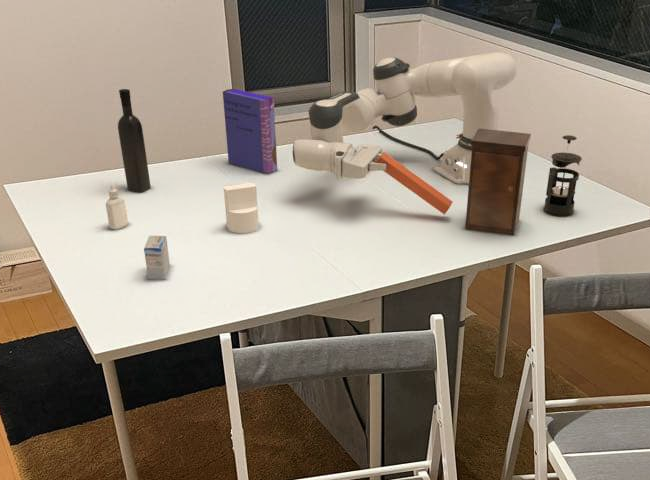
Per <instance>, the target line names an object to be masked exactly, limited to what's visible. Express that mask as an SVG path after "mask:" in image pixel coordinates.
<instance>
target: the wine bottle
mask: <svg viewBox="0 0 650 480" xmlns="http://www.w3.org/2000/svg"><path fill="white" fill-rule="evenodd" d="M118 94H119V98H120V103H121V109H122V116H121V117H120V118H119V119H118V122H117V132H118V137H119V144H120V151H121V156H122V163H123V169H124V175H125V181H126V187H127V190H128V191H131V192H136V193H144V192H145V191H146V190H149V189H150V188H151V187H152V186H151V178H150V172H149V164H148V158H147V152H146V144H145V137H144V130H143V125H142V122H141V121H140V119H139V118H138V117H137V116H136V115H134V113H133V108H132V100H131V97H132V96H131V90H130V89H129V88H128V89H127V88H122V89H119V90H118Z"/></svg>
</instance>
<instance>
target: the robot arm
mask: <svg viewBox="0 0 650 480" xmlns="http://www.w3.org/2000/svg"><path fill="white" fill-rule="evenodd" d="M409 68H411V65H410V64H409V63H408V62H405V61H403V60H402V59H401V58H397V57H386V58H383V59H381V60H379V62H377V63H376V64H374V67H373V68H372V74H373V75H372V76H373V80H374V81H375V85H376V90H375V89H373V88H371V87H367V88H362V89H360V90H358V91H356V92H354V91H342V92H339V93H337V94H335V95H332V96H330V97H328V98H325V99H321V100H317V101H315V102H313V104H312V105H311V106H310V108H309V109H308V118H309V124H310V135H311V137H310V139H295V140H294V142H293V144H292V160H293V163H294V165H295V166H297V167H299V168H302V169H305V170H311V171H317V172H323V171H327V172H330V173H333V174H334V178H335V179H343V178H347V179H364V178H366V177H367V176H368V175H369V173H370V172H377V171H383V170H384V171H385V170H386V169H387V163H377V161H378V159H379V158H380V156H381V155H382V154H383V147H382V146H380V145H372V144H359V145H358V146H356V147H355V148H354V146H353V144H352V143H350V142H349V143H348V142H344V132H343V131H344V130H343V129H344V128H345V129H346V130H347V131H350V132H353V133H362V132H364V131H366V130H367V129H369V128H370V127H371V126H372V125H373V123H374V122H376V120H377V119H378V118H379V117H381V120H382V122H383V123H384V122H386V123H388V124H389V125H391V126H393V127H404V126H407V125H409V124H411V123H413V122H415V120H416V118H417V117H418V108H417V105H416V102H415V96H417V97H421V98H422V97H423V98H444V97H452V96H453V97H454V96H460V98H461V102H462V108H463V119H462V120H463V121H462V122H463V123H462V132H461V133H459V134H455V136H456V137H455V139H458V141H457V143H456V144H454V146H452V147H451V148H449V149H447V150H445V151H444V152H441V153H440V154H439V156H437V155H436V154H435V153H434V152H433V151H431V150H430V149H427V148H425V147H422V146H419V145H416V144H413V143H410V142H408V141H405V140H402V139H398V138H397V137H395V136H392V135H390V134H388V133H387V132H385V130H383V129H382V128H380V127H379V126H378V125H374V126H373V127H372V128H371V129H372V130H376V129H377V131H379V132H380V133H382V135H384V136H386V137H387V138H389V139H391V140H392V141H395V142H398V143H400V144H402V145H405V146H407V147H411V148H414V149H417V150H420V151H422V152H426V153H428V154H430V155H431V156H432V157H433V158H434V159H435V160H441V162H440V163H439V164H436V165H435V166H434V167H433V171H434V172H436V173H437V174H439V175H441V176H443V177H444V178H446V179H447V180H449V181H451V182H453V183H455V184H461V185H462V184H467V185H469V178H470V166H471V154H472V146H471V140H472V139H473V137H474V135H475V134H476V132H477V131H478V129H479V128H480V129H490V130H498V121H499V112H498V109H497V108H496V107H495V106H494V104H493V99H492V92H494V91H497V90H500V89H502V88H505V87H506V86H508V84H510V83H512V81H513V80H514V79H515V77H516V74H517V64H516V61H515V59H514V58H513V56H512V55H511V54H509V53H507V52H499V51H494V52H487V53H481V54H476V55H475V54H474V55H470V56H464V57H457V58H451V59H445V60H436V61H431V62H427V63H424V64H421V65H418V66H416V67H414V68H413V69H412V68H411V69H409ZM384 171H383V172H384Z"/></svg>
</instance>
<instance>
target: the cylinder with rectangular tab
mask: <svg viewBox="0 0 650 480" xmlns="http://www.w3.org/2000/svg"><path fill="white" fill-rule="evenodd" d="M223 195H224V198H223V199H224V207H225V219H226V229H227V230H228V231H229V232H232V233H236V234H250V233H253V232H256V231H257V230H258V229H259V227H260V225H259V224H260V223H259V209H258V196H257V195H258V194H257V184H255V183H254V182H249V183H242V184H235V185H227V186H223Z"/></svg>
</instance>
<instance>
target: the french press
mask: <svg viewBox="0 0 650 480" xmlns="http://www.w3.org/2000/svg"><path fill="white" fill-rule="evenodd" d="M561 138H562V139H563V140H566V141H567V142H566V143H567V147H566V152H554V153H552V154H551V159H552V161H551V164H552V165H553V166H554V167H550V168H549V171H548V179H547V185H546V192H545V193H546V194H545V196H546V198H545V200H544V206H543V208H542V209H543V210H542V211H543V212H544V213H545V214H546V215H549V216H553V217H559V218H564V217H570V216H572V215H574V212H575V210H574V209H575V204H576V203H575V194H576V186H577V182H578V181H579V180H580V179H579V178H580V173H579V172H578V171H576V170H575V169H570V168H567V167H568V166H569V165H571V164H577V166H580V164H581V163H580V162H582V160H583V158H582V157H581V156H580V155H578V154H576V153H572V152H569V150H570V149H569V148H570V144H571V141H576V140H577V139H578V138H577V137H576V136H575V135H570V134H569V135H568V134H566V135H563V136H562V137H561ZM560 173H562V177H560V176H559V174H560ZM566 174H569V175H572V177H565V175H566ZM558 182H559V183H561V186H560V185H557V184H558ZM564 183H566V184H567V183H568V187H567V186H564Z"/></svg>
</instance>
